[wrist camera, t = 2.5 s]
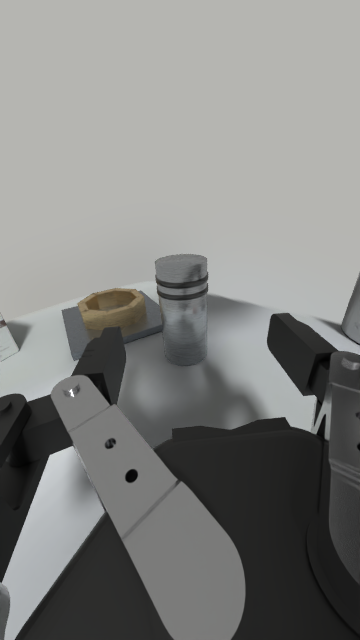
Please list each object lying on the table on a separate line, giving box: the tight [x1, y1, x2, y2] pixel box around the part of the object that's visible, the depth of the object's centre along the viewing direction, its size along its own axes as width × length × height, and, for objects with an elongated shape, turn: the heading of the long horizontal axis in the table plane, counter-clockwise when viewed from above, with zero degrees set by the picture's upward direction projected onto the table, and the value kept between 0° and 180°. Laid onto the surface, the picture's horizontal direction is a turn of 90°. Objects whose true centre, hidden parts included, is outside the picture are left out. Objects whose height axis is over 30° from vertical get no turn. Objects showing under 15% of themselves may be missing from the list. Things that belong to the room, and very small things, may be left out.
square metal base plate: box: [62, 288, 163, 361], centre depth 34 cm, size 14×14×4 cm
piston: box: [155, 254, 208, 366], centre depth 24 cm, size 5×5×11 cm
